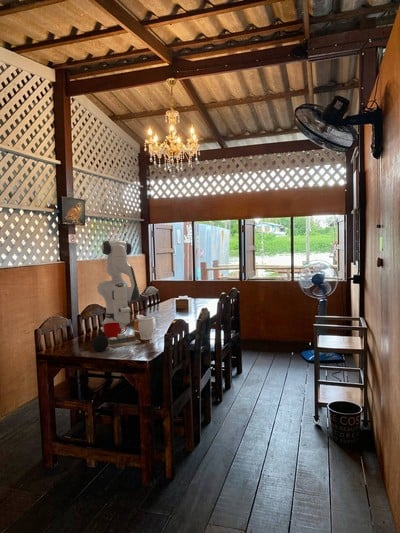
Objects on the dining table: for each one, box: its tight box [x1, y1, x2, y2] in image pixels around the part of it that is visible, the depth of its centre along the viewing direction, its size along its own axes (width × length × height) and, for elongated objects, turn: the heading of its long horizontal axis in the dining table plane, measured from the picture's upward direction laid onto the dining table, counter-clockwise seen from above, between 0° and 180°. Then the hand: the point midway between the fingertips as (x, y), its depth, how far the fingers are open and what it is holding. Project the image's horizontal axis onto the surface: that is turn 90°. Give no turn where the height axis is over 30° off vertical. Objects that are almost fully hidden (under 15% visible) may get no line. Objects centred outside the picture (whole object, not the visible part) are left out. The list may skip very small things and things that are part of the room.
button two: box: [118, 332, 127, 339], centre depth 260 cm, size 4×4×3 cm
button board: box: [107, 335, 142, 349], centre depth 261 cm, size 11×22×4 cm, turn 122°
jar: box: [137, 315, 155, 341], centre depth 273 cm, size 11×10×15 cm
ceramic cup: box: [102, 322, 128, 339], centre depth 277 cm, size 13×17×10 cm
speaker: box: [91, 335, 108, 352], centre depth 243 cm, size 10×10×10 cm
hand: (122, 328), depth 260 cm, fingers closed
